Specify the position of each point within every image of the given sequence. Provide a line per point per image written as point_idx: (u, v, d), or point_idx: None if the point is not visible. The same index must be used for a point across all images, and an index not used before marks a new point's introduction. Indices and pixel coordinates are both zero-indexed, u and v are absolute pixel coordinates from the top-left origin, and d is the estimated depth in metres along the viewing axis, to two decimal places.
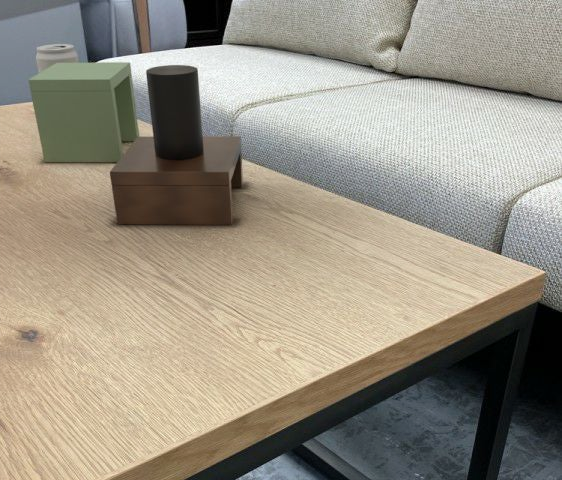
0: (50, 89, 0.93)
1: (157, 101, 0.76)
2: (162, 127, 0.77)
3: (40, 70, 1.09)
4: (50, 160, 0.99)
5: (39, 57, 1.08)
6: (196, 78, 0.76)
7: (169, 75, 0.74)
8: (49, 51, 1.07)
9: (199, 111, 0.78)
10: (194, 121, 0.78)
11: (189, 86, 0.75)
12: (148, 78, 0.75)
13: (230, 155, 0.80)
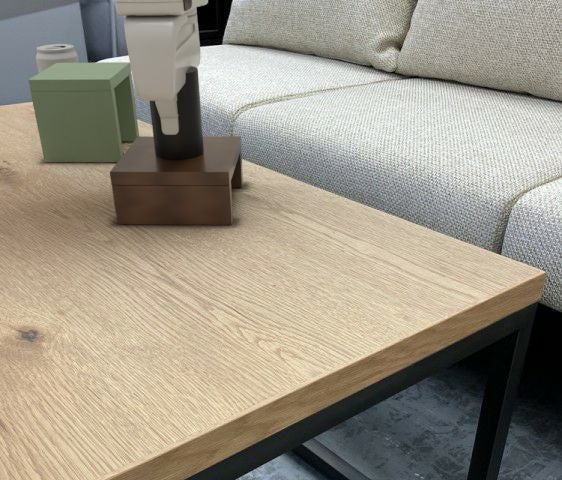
0: (50, 89, 0.93)
1: None
2: None
3: (40, 70, 1.09)
4: (50, 160, 0.99)
5: (39, 57, 1.08)
6: (196, 78, 0.76)
7: None
8: (49, 51, 1.07)
9: (199, 111, 0.78)
10: (194, 121, 0.78)
11: (189, 86, 0.75)
12: None
13: (230, 155, 0.80)
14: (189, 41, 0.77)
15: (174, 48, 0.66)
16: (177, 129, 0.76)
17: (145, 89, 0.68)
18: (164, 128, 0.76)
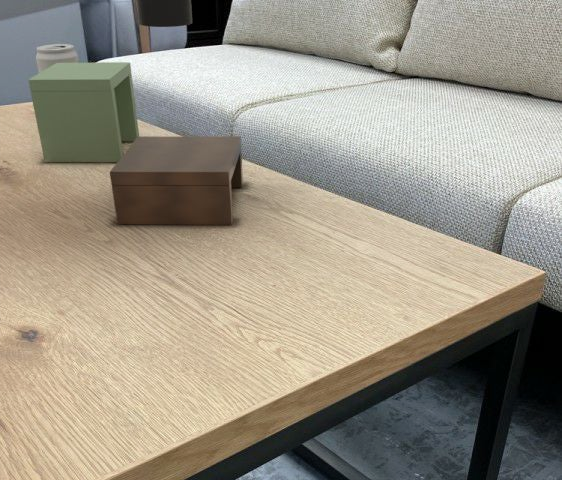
0: (50, 89, 0.93)
1: None
2: None
3: (40, 70, 1.09)
4: (50, 160, 0.99)
5: (39, 57, 1.08)
6: None
7: None
8: (49, 51, 1.07)
9: None
10: None
11: None
12: None
13: (230, 155, 0.80)
14: None
15: None
16: None
17: None
18: None
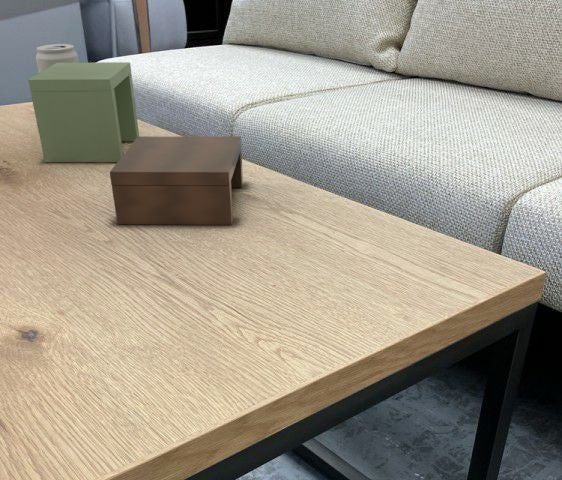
0: (50, 89, 0.93)
1: None
2: None
3: (40, 70, 1.09)
4: (50, 160, 0.99)
5: (39, 57, 1.08)
6: None
7: None
8: (49, 51, 1.07)
9: None
10: None
11: None
12: None
13: (230, 155, 0.80)
14: None
15: None
16: None
17: None
18: None
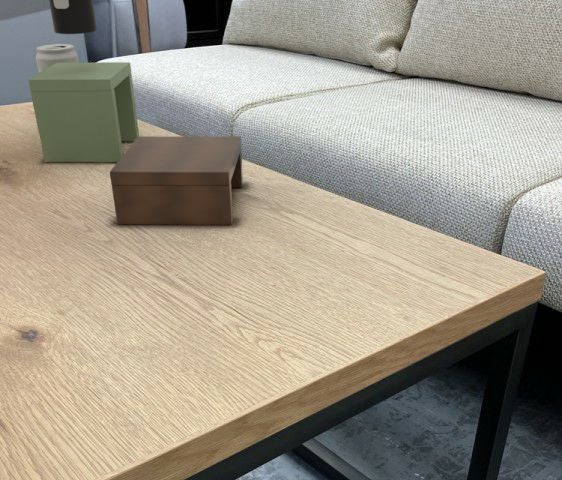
0: (50, 89, 0.93)
1: None
2: None
3: (40, 70, 1.09)
4: (50, 160, 0.99)
5: (39, 57, 1.08)
6: None
7: None
8: (49, 51, 1.07)
9: None
10: None
11: None
12: None
13: (230, 155, 0.80)
14: None
15: None
16: (67, 3, 0.89)
17: None
18: (56, 3, 0.89)
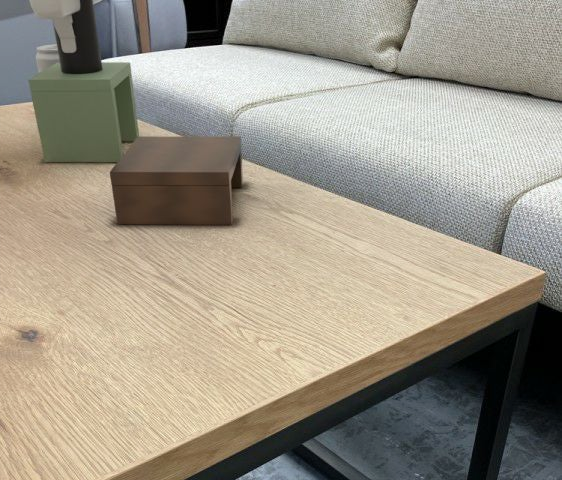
0: (50, 89, 0.93)
1: None
2: None
3: (40, 70, 1.09)
4: (50, 160, 0.99)
5: (39, 57, 1.08)
6: (90, 4, 0.92)
7: None
8: (49, 51, 1.07)
9: (95, 33, 0.94)
10: (90, 41, 0.94)
11: (84, 10, 0.92)
12: None
13: (230, 155, 0.80)
14: None
15: None
16: (74, 48, 0.92)
17: (39, 8, 0.84)
18: (63, 47, 0.92)
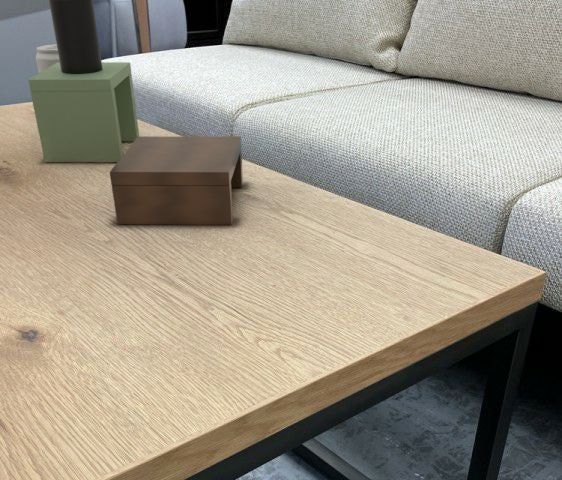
0: (50, 89, 0.93)
1: (58, 23, 0.92)
2: (63, 45, 0.93)
3: (40, 70, 1.09)
4: (50, 160, 0.99)
5: (39, 57, 1.08)
6: (90, 4, 0.92)
7: (66, 0, 0.90)
8: (49, 51, 1.07)
9: (95, 33, 0.94)
10: (90, 41, 0.94)
11: (84, 10, 0.92)
12: (50, 3, 0.92)
13: (230, 155, 0.80)
14: None
15: None
16: None
17: None
18: None
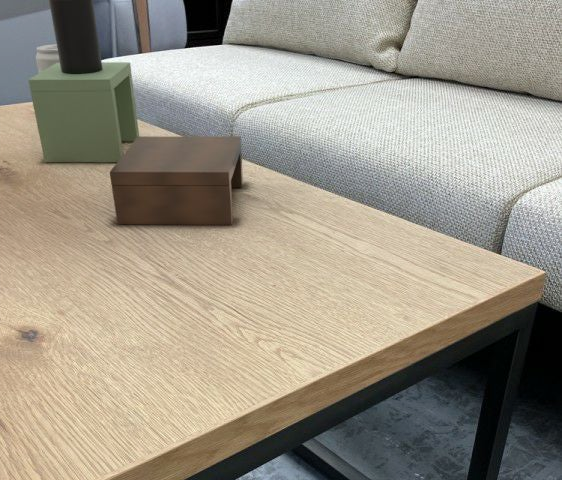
0: (50, 89, 0.93)
1: (58, 23, 0.92)
2: (63, 45, 0.93)
3: (40, 70, 1.09)
4: (50, 160, 0.99)
5: (39, 57, 1.08)
6: (90, 4, 0.92)
7: (66, 0, 0.90)
8: (49, 51, 1.07)
9: (95, 33, 0.94)
10: (90, 41, 0.94)
11: (84, 10, 0.92)
12: (50, 3, 0.92)
13: (230, 155, 0.80)
14: None
15: None
16: None
17: None
18: None
